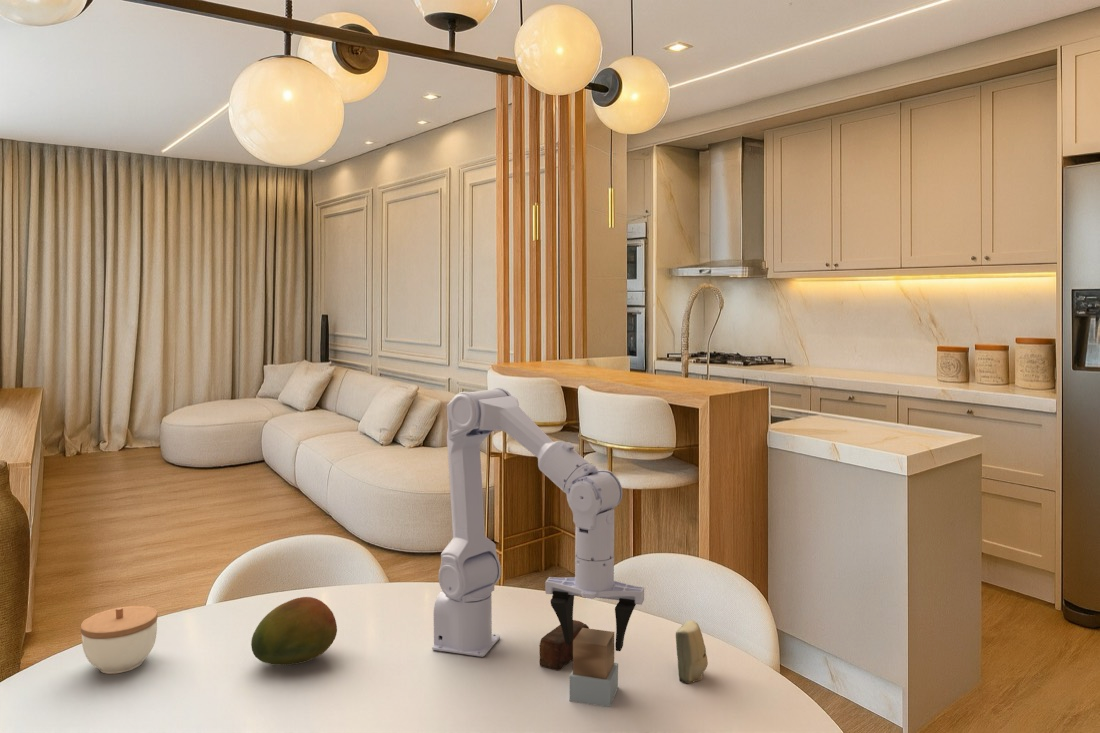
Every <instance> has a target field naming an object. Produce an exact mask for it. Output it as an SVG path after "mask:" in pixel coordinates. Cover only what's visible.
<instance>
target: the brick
mask: <svg viewBox="0 0 1100 733" xmlns="http://www.w3.org/2000/svg"><path fill="white" fill-rule="evenodd" d="M582 628H589V629H590V626H588V625H587V624H586V623H584V622H582V621H579V620H575V619H573V639H572V641H571V643H570V644H565V640H564V635H563V631H562V628H561V625H560V624H559V625H557V626H556V627H555V628H554V629H552V630H551V631H549V632H548V633H546V634H545V635H544V636H543V637H541V639H540V642H539V645H538V646H539V666H540V667H544V668H547V669H550V670H555V671H560V670H562V669H563V668H564V667H566V665H568V664H570V662H573V640H574V639H575V638H576V636H577V635H578V633H579V632H580V630H581V629H582Z"/></svg>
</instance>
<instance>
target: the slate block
mask: <svg viewBox="0 0 1100 733" xmlns="http://www.w3.org/2000/svg"><path fill="white" fill-rule="evenodd" d="M618 689H619V663H618V662H614V666H613V668H612V669H611V671H610V673H609V675H608V677H607V679H599V678H593V677H586V676H580V675H574V674H573V670H571V673H570V674H569V702H574V703H580V704H585V705H586V704H587V705H592V706H593V705H594V706H598V707H600V706H601V707H606V708H611V705H612V702H613V700H614V698H615V696H616V693H617V691H618Z"/></svg>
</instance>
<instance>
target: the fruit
mask: <svg viewBox="0 0 1100 733" xmlns="http://www.w3.org/2000/svg"><path fill="white" fill-rule="evenodd" d="M337 633H338V626H337V620H336V617H335V615H334V612H333V611H332V610H331V609H330V607H329V606H328V605H327V604H326V603H324V601H322V600H320V599H318V598H316V597H311V596H302V597H297V598H293V599H291V600H288V601H285V602H284V603H281V604H280V605H277V606H276V607H275V608H273V609H272V610H271V611H270V612H268V613H267V614H266V615H265V616H264V617H263V618H262V619H261V621H260V622H259V624H258V625H257V626H256V628H255V630H254V632H253V634H252V637H251V643H250V645H251V650H252V653H253V655H254V657H255V658H257V660H258V661H260V662H262V663H264V664H268V665H273V666H290V665H297V664H301V663H306V662H308V661H311V660H313V659H315V658H317V657H320V656H321V655H322V654H324V653H325V652H326V651H327V650H328V649H329V648H330V647H331V646H332V644H333V643H334V641H335V639H336V638H337Z"/></svg>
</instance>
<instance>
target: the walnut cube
mask: <svg viewBox="0 0 1100 733" xmlns="http://www.w3.org/2000/svg"><path fill="white" fill-rule="evenodd" d="M614 663H615V631H610V630H602V629H594V628H590V627H589V628H582V629H581V630H580V632H579V633H578V635H577V636H576V638H575V639H574V640H573V660H572V671H573V674H574V675H580V676H586V677H593V678H599V679H607V677H608V675H609V673H610V671H611V669H612V668H613V666H614Z"/></svg>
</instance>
